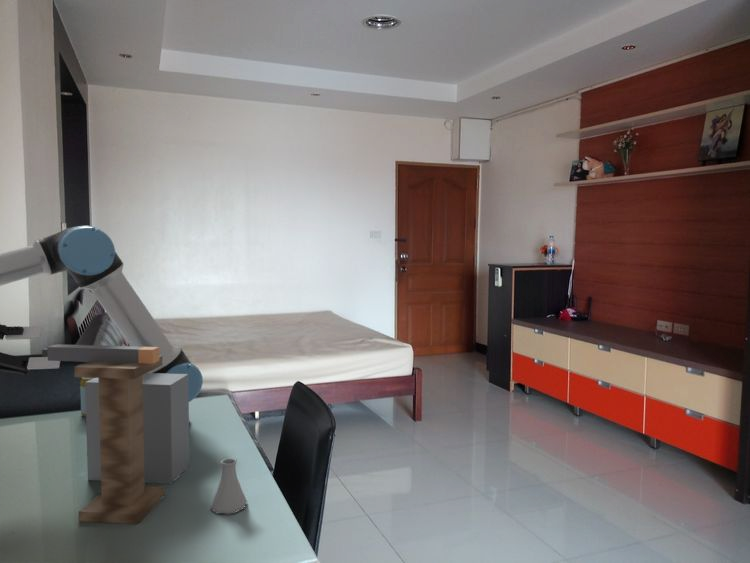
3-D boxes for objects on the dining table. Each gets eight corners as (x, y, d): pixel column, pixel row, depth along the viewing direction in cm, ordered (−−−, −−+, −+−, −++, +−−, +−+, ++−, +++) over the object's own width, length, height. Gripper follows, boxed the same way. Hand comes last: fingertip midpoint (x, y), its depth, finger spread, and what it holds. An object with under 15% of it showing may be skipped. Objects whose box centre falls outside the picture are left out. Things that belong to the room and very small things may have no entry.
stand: (78, 521, 110) (74, 367, 108) (111, 493, 122) (108, 354, 120) (137, 523, 109) (134, 368, 107) (164, 495, 121) (162, 355, 119)
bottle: (95, 418, 171) (94, 370, 170) (76, 416, 173) (74, 369, 172) (110, 411, 178) (109, 365, 177) (91, 410, 180) (90, 364, 178)
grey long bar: (40, 360, 113) (39, 346, 113) (49, 357, 116) (48, 344, 115) (153, 363, 111) (152, 349, 111) (159, 360, 114) (159, 347, 114)
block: (87, 480, 129) (85, 382, 127) (111, 462, 138) (108, 371, 137) (172, 483, 127) (170, 384, 125) (189, 465, 137) (188, 374, 135)
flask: (253, 502, 119) (253, 457, 118) (234, 518, 112) (233, 470, 111) (224, 497, 121) (223, 452, 120) (203, 512, 114) (203, 465, 114)
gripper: (-38, 392, 128) (63, 387, 132) (-93, 337, 108) (28, 334, 112) (-29, 362, 132) (69, 359, 136) (-80, 304, 112) (36, 303, 117)
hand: (51, 348), depth 124 cm, fingers open, 13 cm apart
